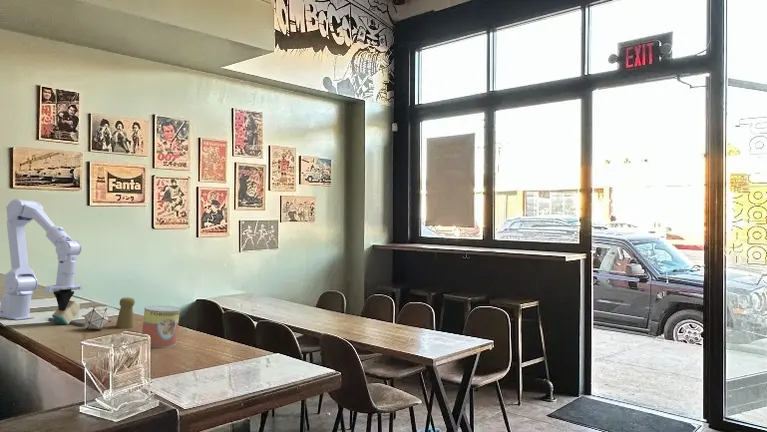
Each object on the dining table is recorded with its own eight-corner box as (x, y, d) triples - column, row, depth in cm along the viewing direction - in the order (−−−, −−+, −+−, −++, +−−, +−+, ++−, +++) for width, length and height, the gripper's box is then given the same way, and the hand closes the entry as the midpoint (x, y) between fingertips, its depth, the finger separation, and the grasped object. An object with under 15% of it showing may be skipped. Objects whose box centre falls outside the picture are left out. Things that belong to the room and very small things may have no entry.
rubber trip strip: (48, 320, 210) (48, 317, 210) (50, 320, 211) (51, 317, 211) (82, 326, 205) (82, 323, 205) (85, 326, 206) (85, 323, 207)
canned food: (150, 348, 182) (154, 311, 182) (134, 341, 190) (138, 306, 190) (182, 345, 190) (186, 310, 191) (166, 339, 198) (170, 305, 198)
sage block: (60, 318, 216) (61, 303, 216) (66, 317, 220) (68, 301, 220) (71, 319, 216) (73, 304, 216) (78, 318, 220) (79, 302, 220)
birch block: (51, 315, 204) (65, 299, 210) (57, 323, 207) (71, 307, 212) (61, 317, 203) (75, 301, 208) (67, 324, 206) (80, 309, 211)
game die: (100, 339, 204) (121, 318, 206) (87, 334, 196) (109, 312, 199) (84, 324, 206) (105, 303, 209) (71, 319, 198) (93, 297, 201)
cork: (129, 325, 216) (132, 296, 217) (135, 328, 212) (138, 298, 212) (113, 325, 212) (116, 296, 212) (118, 328, 208) (122, 299, 208)
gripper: (58, 275, 198) (54, 313, 197) (90, 273, 212) (86, 309, 211) (42, 273, 200) (38, 311, 199) (75, 271, 214) (71, 307, 213)
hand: (61, 310), depth 205 cm, fingers closed, pressing on birch block
